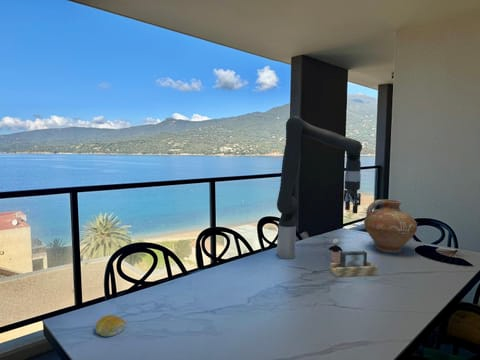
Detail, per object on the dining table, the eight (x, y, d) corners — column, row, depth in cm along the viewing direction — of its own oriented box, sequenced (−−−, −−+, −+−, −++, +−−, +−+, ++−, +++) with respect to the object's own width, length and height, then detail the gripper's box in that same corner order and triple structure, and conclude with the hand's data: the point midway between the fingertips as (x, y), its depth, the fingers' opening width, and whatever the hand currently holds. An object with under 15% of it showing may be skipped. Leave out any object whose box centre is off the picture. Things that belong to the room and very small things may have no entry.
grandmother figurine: (341, 262, 166) (342, 238, 165) (343, 264, 162) (344, 240, 161) (326, 261, 167) (327, 237, 166) (327, 264, 163) (328, 239, 162)
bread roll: (111, 320, 107) (111, 308, 107) (129, 328, 102) (129, 316, 102) (88, 331, 100) (88, 319, 100) (106, 340, 95) (106, 327, 95)
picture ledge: (337, 276, 146) (337, 268, 146) (329, 270, 154) (330, 262, 153) (378, 275, 148) (378, 267, 148) (368, 269, 156) (369, 261, 156)
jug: (426, 258, 173) (429, 203, 171) (373, 257, 174) (376, 203, 171) (400, 243, 202) (403, 196, 199) (355, 243, 202) (357, 196, 199)
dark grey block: (342, 270, 149) (342, 253, 148) (339, 268, 151) (340, 251, 151) (366, 269, 150) (366, 252, 150) (363, 267, 153) (364, 250, 152)
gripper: (339, 178, 168) (338, 209, 170) (351, 181, 154) (350, 214, 156) (353, 178, 169) (351, 209, 171) (366, 181, 155) (364, 214, 156)
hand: (351, 211), depth 163 cm, fingers open, 8 cm apart
